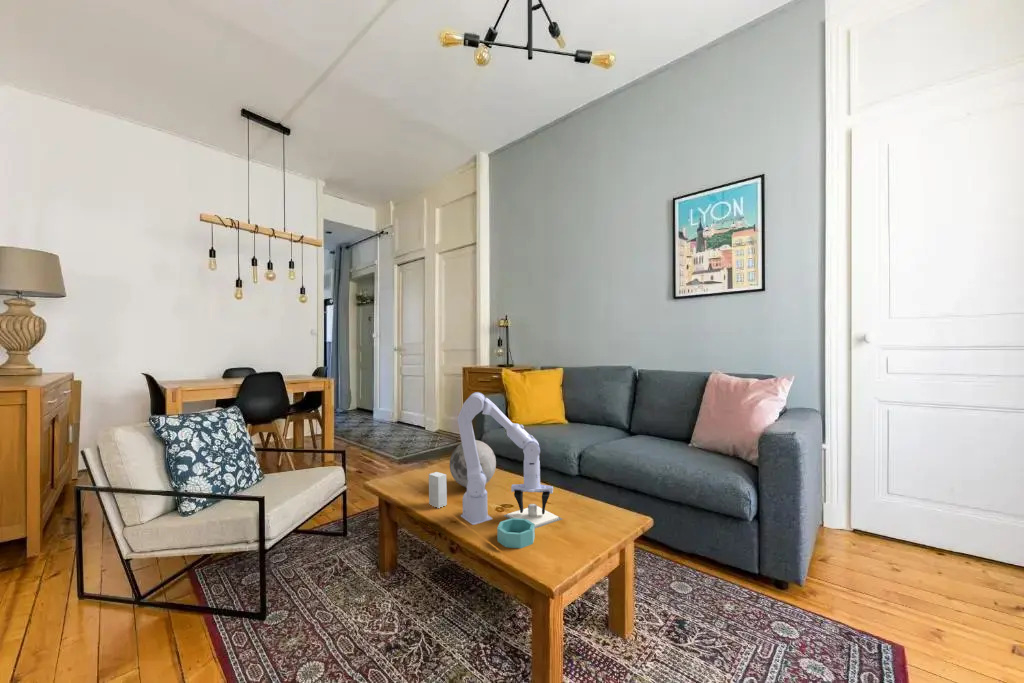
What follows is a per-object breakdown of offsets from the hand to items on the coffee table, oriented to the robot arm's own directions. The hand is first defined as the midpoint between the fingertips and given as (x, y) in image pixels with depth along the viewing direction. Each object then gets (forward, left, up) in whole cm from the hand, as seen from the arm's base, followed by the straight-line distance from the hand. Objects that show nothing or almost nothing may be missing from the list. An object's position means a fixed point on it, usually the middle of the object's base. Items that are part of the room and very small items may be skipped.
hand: (532, 512), depth 145 cm
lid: (0, 0, -2) cm, 2 cm away
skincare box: (-31, -22, -2) cm, 38 cm away
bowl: (+10, -14, -2) cm, 17 cm away
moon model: (-41, -1, -2) cm, 41 cm away
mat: (0, 0, -2) cm, 2 cm away
